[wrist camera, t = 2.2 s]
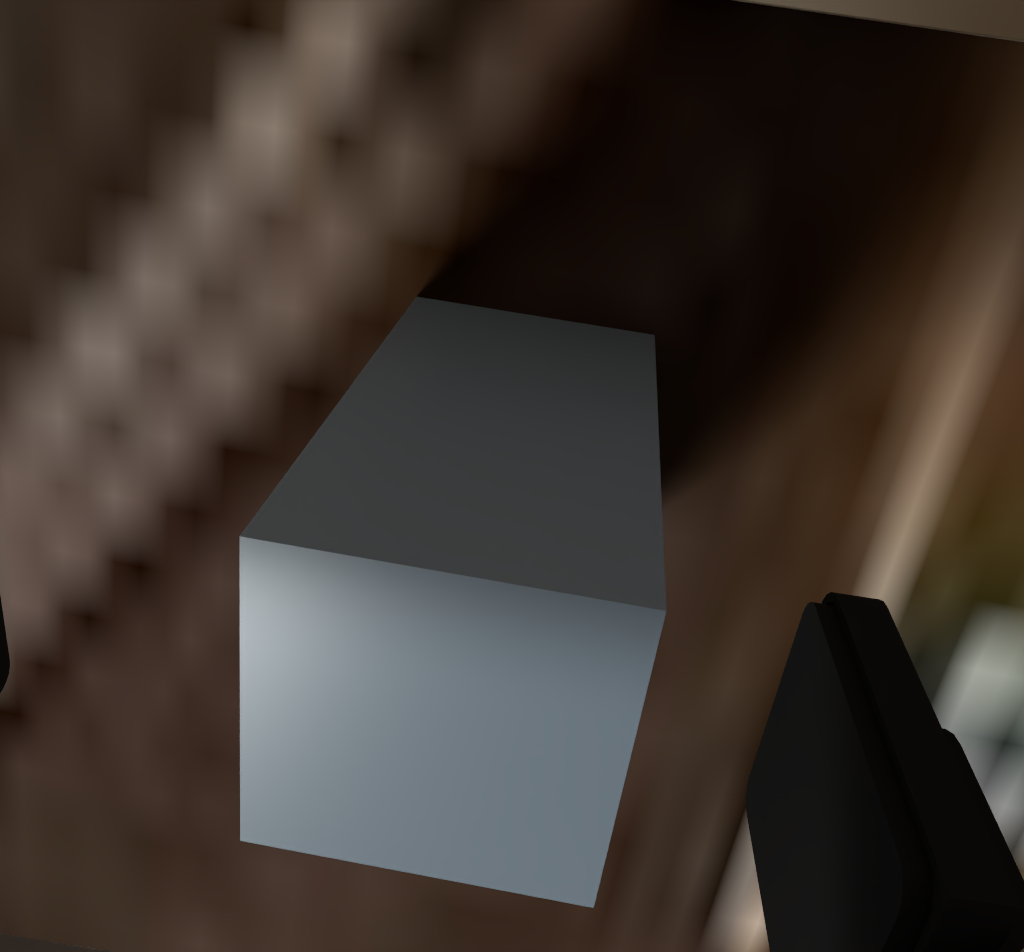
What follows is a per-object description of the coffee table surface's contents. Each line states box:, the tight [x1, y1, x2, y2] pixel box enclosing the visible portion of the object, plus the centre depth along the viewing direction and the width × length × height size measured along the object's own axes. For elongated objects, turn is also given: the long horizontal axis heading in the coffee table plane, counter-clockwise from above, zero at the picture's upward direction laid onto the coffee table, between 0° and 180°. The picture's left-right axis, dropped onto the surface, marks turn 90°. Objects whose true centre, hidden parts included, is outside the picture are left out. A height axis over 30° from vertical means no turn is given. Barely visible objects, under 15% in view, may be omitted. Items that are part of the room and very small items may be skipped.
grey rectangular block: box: [240, 297, 666, 908], centre depth 13 cm, size 4×4×8 cm
